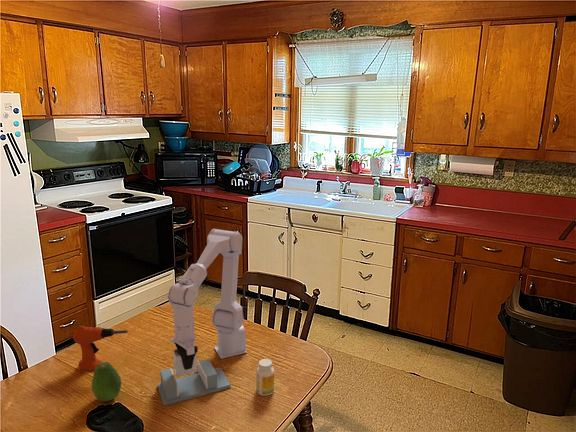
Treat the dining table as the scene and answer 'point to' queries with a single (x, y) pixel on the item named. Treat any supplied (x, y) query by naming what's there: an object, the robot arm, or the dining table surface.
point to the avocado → (106, 382)
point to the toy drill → (91, 344)
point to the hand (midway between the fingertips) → (186, 364)
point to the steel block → (179, 365)
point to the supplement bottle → (265, 377)
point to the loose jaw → (207, 374)
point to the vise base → (187, 386)
